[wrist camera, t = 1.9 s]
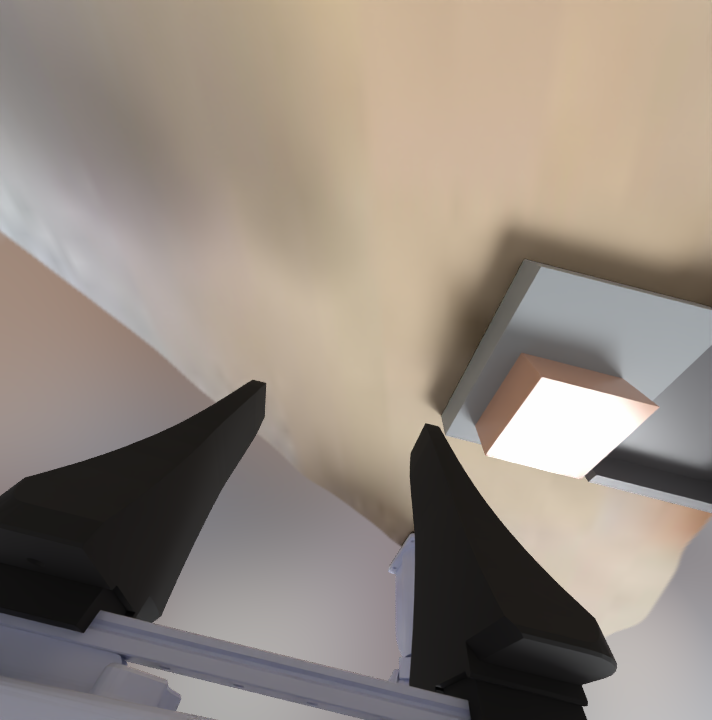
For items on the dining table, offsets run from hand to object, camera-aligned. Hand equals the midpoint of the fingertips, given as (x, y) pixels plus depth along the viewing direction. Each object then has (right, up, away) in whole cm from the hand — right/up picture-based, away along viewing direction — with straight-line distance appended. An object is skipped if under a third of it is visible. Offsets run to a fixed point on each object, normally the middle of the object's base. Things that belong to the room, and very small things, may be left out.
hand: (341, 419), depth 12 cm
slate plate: (+13, +2, +6) cm, 15 cm away
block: (+12, 0, +5) cm, 13 cm away
